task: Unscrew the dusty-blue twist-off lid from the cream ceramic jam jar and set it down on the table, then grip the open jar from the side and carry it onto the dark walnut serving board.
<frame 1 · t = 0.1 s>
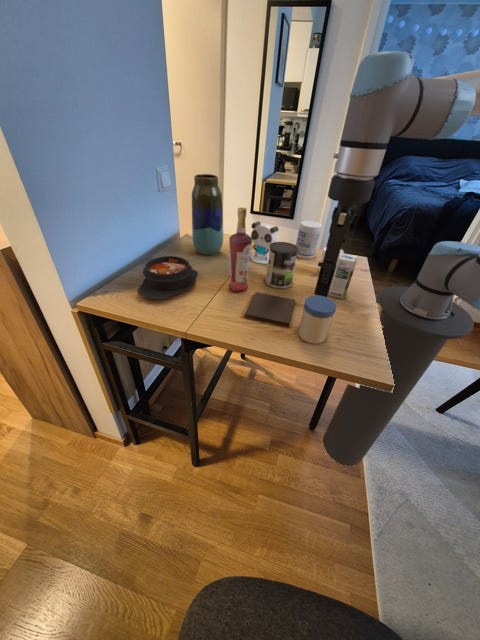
hand: (324, 280, 59), 21 cm above the table, tool pointing down, fingers open, 13 cm apart
jar: (311, 334, 76), on the table
casserole: (170, 286, 95), on the table
supplement tub: (304, 255, 123), on the table
jar lid: (320, 304, 70), point 11 cm above the table, screwed on, not yet turned
coffee can: (278, 282, 101), on the table
panda figurine: (262, 258, 118), on the table
vase: (208, 252, 121), on the table
liquor: (238, 289, 95), on the table
serving board: (270, 310, 85), on the table
syrup box: (336, 294, 96), on the table
white cup: (327, 273, 109), on the table
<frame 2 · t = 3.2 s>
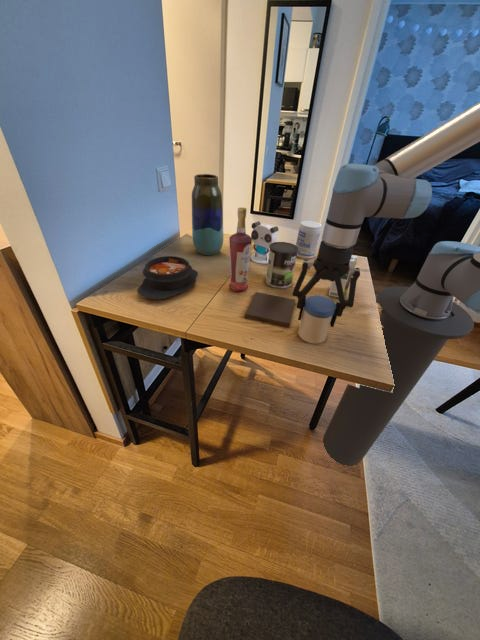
hand: (315, 320, 73), 5 cm above the table, tool pointing down, fingers closed on jar lid, 8 cm apart
jar lid: (320, 304, 70), point 11 cm above the table, screwed on, not yet turned, touching gripper
everything else where it was.
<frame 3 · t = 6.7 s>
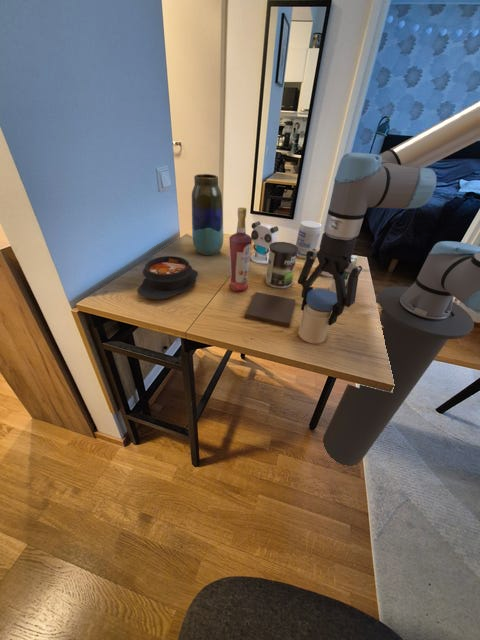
hand: (317, 315, 72), 7 cm above the table, tool pointing down, fingers closed on jar lid, 8 cm apart
jar lid: (322, 297, 69), point 13 cm above the table, off its thread, touching gripper
everything else where it was.
when the fingers open (7 cm above the table, at t = 29.4 s): jar lid stays where it is, point 1 cm above the table.
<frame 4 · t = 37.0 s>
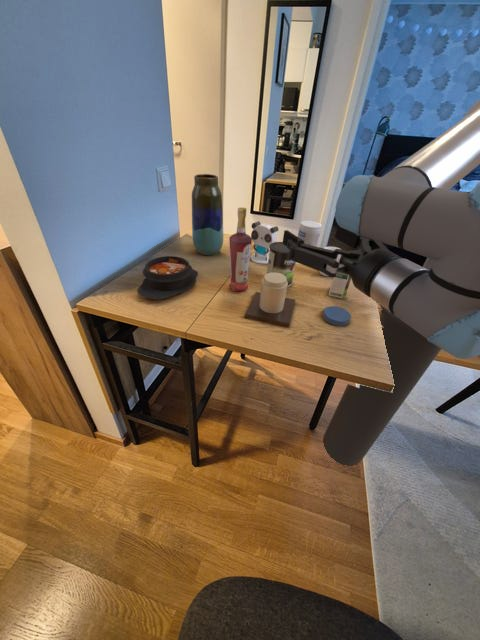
hand: (312, 234, 57), 30 cm above the table, tool horizontal, fingers open, 13 cm apart
jar: (271, 306, 84), point 1 cm above the table, touching serving board
jar lid: (337, 314, 83), point 1 cm above the table, off its thread
everything else where it was.
at the end: jar lid point 1.4 cm above the table; jar inside the target area on the serving board (0.0 cm from its centre), point 1.5 cm above the serving board's base; jar tilted 0° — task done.
